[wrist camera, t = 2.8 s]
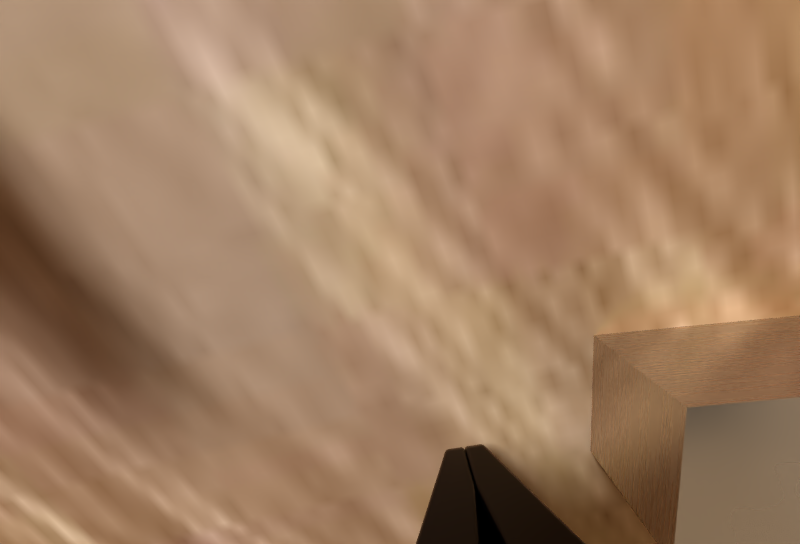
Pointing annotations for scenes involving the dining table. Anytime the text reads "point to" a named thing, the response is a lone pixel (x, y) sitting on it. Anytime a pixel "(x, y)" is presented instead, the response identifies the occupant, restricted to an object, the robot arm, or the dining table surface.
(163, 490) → the dining table surface
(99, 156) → the dining table surface
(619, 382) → the bar
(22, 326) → the dining table surface
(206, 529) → the dining table surface
